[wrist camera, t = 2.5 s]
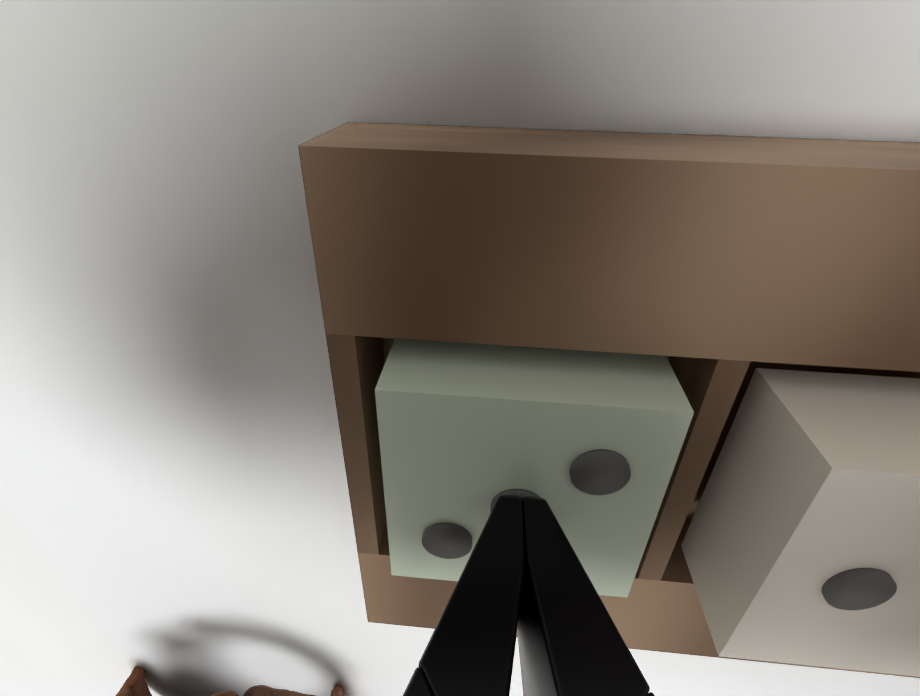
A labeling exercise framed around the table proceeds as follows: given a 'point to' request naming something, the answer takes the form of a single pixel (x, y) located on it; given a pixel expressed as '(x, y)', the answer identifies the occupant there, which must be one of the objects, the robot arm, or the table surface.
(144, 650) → the table surface
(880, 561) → the tile two
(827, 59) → the table surface
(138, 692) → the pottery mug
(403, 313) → the tile board
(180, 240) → the table surface
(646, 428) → the tile three
